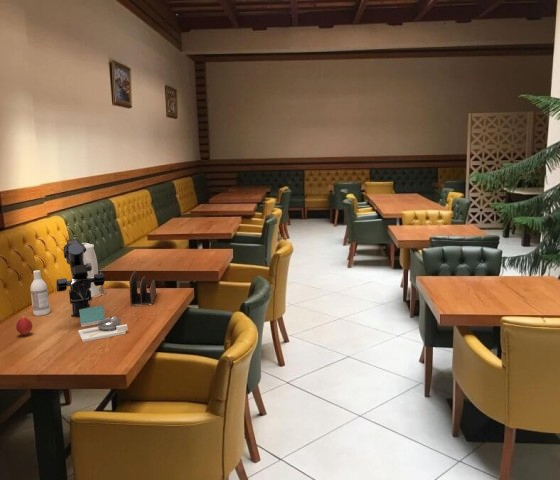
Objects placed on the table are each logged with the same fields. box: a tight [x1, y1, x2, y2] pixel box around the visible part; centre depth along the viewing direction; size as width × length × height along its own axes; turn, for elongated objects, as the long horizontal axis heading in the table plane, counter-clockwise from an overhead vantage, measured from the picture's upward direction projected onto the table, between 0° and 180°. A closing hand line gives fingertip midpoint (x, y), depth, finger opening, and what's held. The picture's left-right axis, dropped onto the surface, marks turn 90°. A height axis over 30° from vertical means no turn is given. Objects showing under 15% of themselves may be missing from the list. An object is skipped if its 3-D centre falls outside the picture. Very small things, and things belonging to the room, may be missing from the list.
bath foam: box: [30, 269, 51, 317], centre depth 233 cm, size 7×7×20 cm
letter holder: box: [128, 270, 157, 307], centre depth 249 cm, size 10×20×14 cm, turn 8°
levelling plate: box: [77, 324, 129, 343], centre depth 205 cm, size 17×12×3 cm
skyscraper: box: [81, 242, 105, 297], centre depth 260 cm, size 8×8×28 cm
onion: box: [15, 315, 33, 336], centre depth 205 cm, size 6×6×8 cm
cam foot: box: [79, 304, 122, 330], centre depth 205 cm, size 15×9×9 cm, turn 119°
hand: (84, 299), depth 209 cm, fingers closed
